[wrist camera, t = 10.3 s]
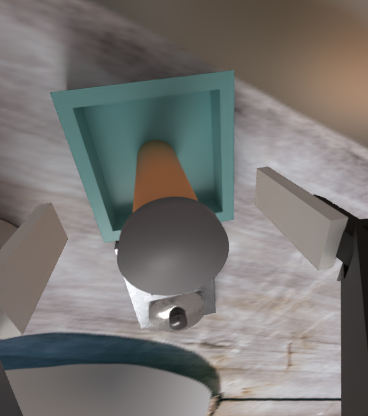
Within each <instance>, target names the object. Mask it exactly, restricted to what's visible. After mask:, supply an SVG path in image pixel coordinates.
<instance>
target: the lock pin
mask: <svg viewBox="0 0 368 416" xmlns="http://www.w3.org/2000/svg"><path fill="white" fill-rule="evenodd" d="M228 252H229V241H228V237H227V234H226V232H225V230H224V228H223V226H222V224H221V223H220V221H219V219H218V217H217V216H216V214H215V213H214V212H213V211H212V210H211V209H210V208H209V207H208V206H206V205H205V204H203V203H201V202H199V201H198V200H197V197H196V195H195V193H194V191H193V189H192V187H191V185H190V183H189V181H188V179H187V176H186V174H185V172H184V170H183V168H182V166H181V164H180V162H179V160H178V158H177V155H176V153H175V151H174V149H173V148H172V147H171V145H169V144H168V143H167V142H165V141H162V140H151V141H148V142H146V143H145V144H143V145H142V146H141V148H140V149H139V151H138V155H137V165H136V177H135V189H134V201H133V213H132V214H131V215H130V217H129V218H128V219H127V220H126V222H125V223H124V225H123V227H122V230H121V233H120V237H119V244H118V250H117V263H118V267H119V269H120V271H121V273H122V275H123V276H124V278H125V279H126V280H127V281H128V282H129V283H130V284H131V285H133V286H134V287H136V288H137V289H139V290H141V291H144V292H147V293H150V294H154V295H162V296H171V295H179V294H184V293H188V292H191V291H193V290H196V289H198V288H200V287H202V286H203V285H205V284H207V283H208V282H209V281H211V280H212V279H213V278H214V277H215V276H216V275H217V274H218V273H219V272H220V270H221V269H222V268H223V266H224V264H225V262H226V259H227V257H228Z"/></svg>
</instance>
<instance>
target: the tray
mask: <svg viewBox="0 0 368 416" xmlns="http://www.w3.org/2000/svg"><path fill="white" fill-rule="evenodd" d="M50 94H51V97H52V100H53V103H54V105H55V108H56V111H57V114H58V116H59V119H60V122H61V125H62V128H63V130H64V133H65V136H66V139H67V141H68V144H69V147H70V150H71V152H72V155H73V158H74V161H75V163H76V166H77V169H78V172H79V175H80V177H81V180H82V183H83V186H84V188H85V191H86V194H87V197H88V199H89V202H90V205H91V208H92V211H93V213H94V216H95V219H96V222H97V224H98V227H99V230H100V233H101V235H102V238H103V241H104V243H106V242H112V241H117V240H119V237H120V233H121V230H122V227H123V225H124V223H125V222H126V220H127V219H128V218H129V217H130V215H131V214H132V213H133V201H134V189H135V177H136V165H137V155H138V151H139V149H140V148H141V146H142V145H143V144H145V143H146V142H148V141H151V140H162V141H165V142H167V143H168V144H169V145H171V147H172V148H173V149H174V151H175V153H176V155H177V158H178V160H179V162H180V164H181V166H182V168H183V170H184V172H185V174H186V176H187V179H188V181H189V183H190V185H191V187H192V189H193V191H194V193H195V195H196V197H197V200H198V201H199V202H201V203H203V204H205V205H206V206H208V207H209V208H210V209H211V210H212V211H213V212H214V213H215V214H216V216H217V217H218V219H219V221H220V222H223V221H228V220H234V70H231V71H222V72H214V73H206V74H198V75H190V76H181V77H173V78H165V79H157V80H148V81H140V82H132V83H124V84H116V85H107V86H99V87H91V88H83V89H75V90H66V91H58V92H50Z"/></svg>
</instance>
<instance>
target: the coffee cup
mask: <svg viewBox="0 0 368 416" xmlns="http://www.w3.org/2000/svg"><path fill="white" fill-rule="evenodd" d="M17 229H18V228H17V227H15V226H14V225H12V224H10V223H8V222H6V221H4V220H1V219H0V249H1V248H2V247H3V246H4V244H5V243H6V242H7V241H8V240H9V239H10V237H11V236H12V235H13V234H14V233H15V232H16V230H17Z"/></svg>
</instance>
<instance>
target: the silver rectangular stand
mask: <svg viewBox="0 0 368 416" xmlns="http://www.w3.org/2000/svg"><path fill="white" fill-rule="evenodd" d="M118 244H119V242H116V244H115V249H114V250H115V253H116V256H117V250H118ZM124 279H125V278H124ZM125 282H126V285H127V288H128V291H129V294H130V297H131V300H132V303H133V306H134V309H135V312H136V315H137V318H138V321H139V324H140V327H141V328H146V327H151V326H154V327H155V328H157V329H159V330H162V331H169V332H174V331H181V330H184V329H187V328H190V327H192V326H193V325H195V324H196V323H197V322H199V321H200V320H201V318H202V317H203V315H207V314H211V313H216V308H215V291H214V278H213V279H212V280H211V281H209V282H208V283H207V284H205V285H203V286H202V287H200V288H198V289H196V290H193V291H191V292H188V293H184V294H179V295H171V296H162V295H154V294H150V293H147V292H144V291H141V290H139V289H137V288H136V287H134V286H133V285H131V284H130V283H129V282H128V281H127V280H126V279H125Z"/></svg>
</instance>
